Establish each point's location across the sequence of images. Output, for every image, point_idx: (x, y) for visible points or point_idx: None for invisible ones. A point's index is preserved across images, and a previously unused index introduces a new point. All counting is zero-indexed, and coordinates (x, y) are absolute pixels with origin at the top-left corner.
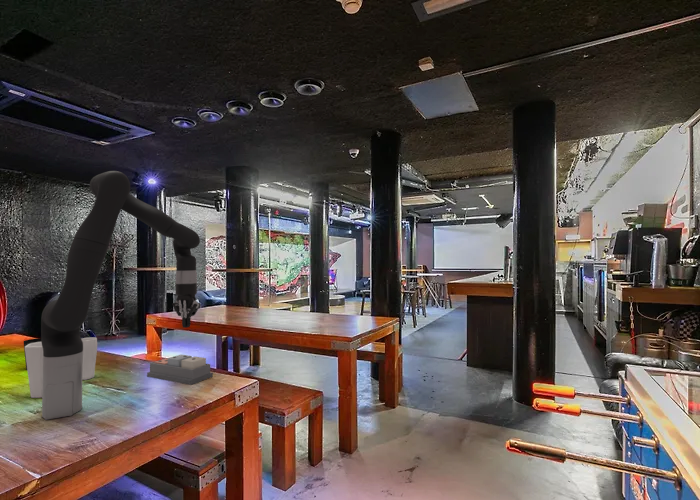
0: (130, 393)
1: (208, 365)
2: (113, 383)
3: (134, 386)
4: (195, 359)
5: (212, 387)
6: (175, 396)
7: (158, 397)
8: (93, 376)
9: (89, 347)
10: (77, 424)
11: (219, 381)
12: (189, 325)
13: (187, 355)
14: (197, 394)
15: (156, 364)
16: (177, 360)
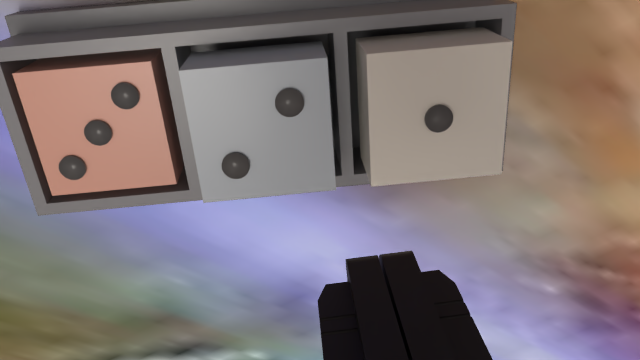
0: (297, 351)
1: (512, 22)
2: (54, 330)
3: (207, 302)
4: (460, 118)
5: (627, 117)
6: (532, 279)
7: None
8: None
9: None
10: None
11: (599, 20)
12: (440, 284)
13: (271, 64)
14: (617, 218)
15: (117, 206)
16: (323, 188)
